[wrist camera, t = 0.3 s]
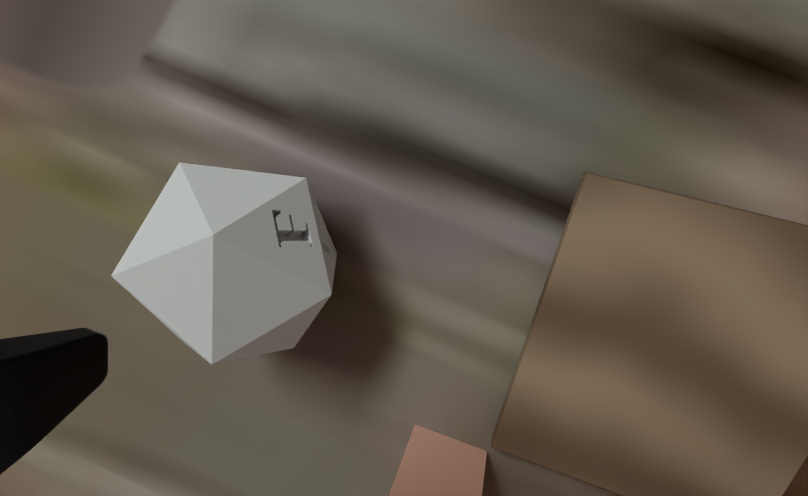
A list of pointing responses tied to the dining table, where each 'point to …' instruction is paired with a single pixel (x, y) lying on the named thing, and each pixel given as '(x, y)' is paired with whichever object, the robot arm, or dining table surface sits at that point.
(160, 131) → the dining table surface
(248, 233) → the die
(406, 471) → the terracotta brick
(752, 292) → the walnut board
